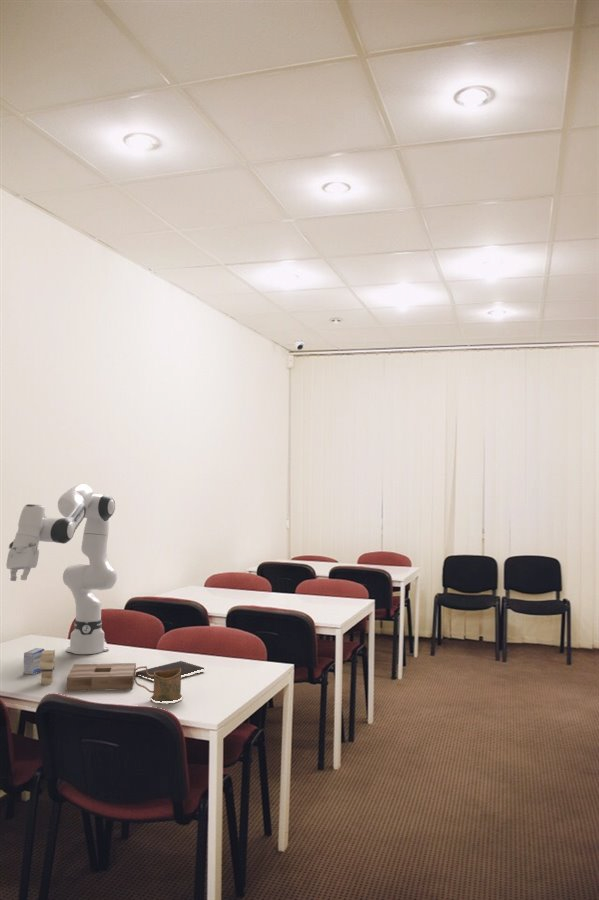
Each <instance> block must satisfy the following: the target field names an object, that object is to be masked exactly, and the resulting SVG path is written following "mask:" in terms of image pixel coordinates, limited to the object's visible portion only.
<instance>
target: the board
mask: <svg viewBox="0 0 599 900" xmlns="http://www.w3.org/2000/svg"><path fill="white" fill-rule="evenodd" d="M136 665H137V663H136V662H123V663H122V662H121V663H119V662H117V663H83V664H82V663H77V664H76V663H75V664H73V666H72V668H71V669H70V671H69V673H68V675H67V676H66V689H65V690H66V692H76V691H77V692H79V691H80V692H81V690H86V691H106V690H105V689H121V690H133V689H134V684H135V680H134V671H135V669H136V668H137V666H136ZM136 672H137V671H136ZM136 672H135V674H136ZM132 688H133V689H132Z"/></svg>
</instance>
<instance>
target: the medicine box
mask: <svg viewBox="0 0 599 900" xmlns="http://www.w3.org/2000/svg"><path fill="white" fill-rule="evenodd" d="M43 650H45V648H41V647H40V648H39V647H34V648H33V649H31V650H28V651H26V652H24V653H23V672H22V673H23V674H24V673H27V674H26V675H31V674H33V675H35V674H34V673H36V672H38V673H39V672H40V661H41V652H42V651H43ZM36 674H37V673H36Z"/></svg>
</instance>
